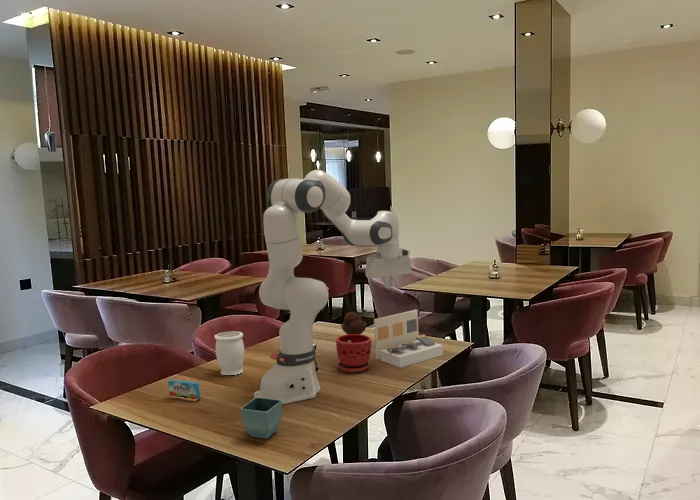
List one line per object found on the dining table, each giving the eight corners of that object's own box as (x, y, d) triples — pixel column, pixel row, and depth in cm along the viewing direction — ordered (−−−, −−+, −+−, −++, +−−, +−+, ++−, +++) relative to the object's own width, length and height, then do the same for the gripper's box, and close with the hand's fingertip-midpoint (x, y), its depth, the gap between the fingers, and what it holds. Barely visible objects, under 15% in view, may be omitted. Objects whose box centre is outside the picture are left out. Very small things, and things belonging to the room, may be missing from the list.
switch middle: (413, 346, 214) (413, 344, 214) (402, 346, 220) (401, 343, 220) (421, 344, 217) (420, 342, 217) (409, 344, 222) (409, 341, 222)
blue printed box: (169, 398, 189) (167, 380, 189) (172, 396, 191) (171, 379, 190) (197, 402, 184) (195, 384, 183) (200, 400, 186) (198, 382, 185)
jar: (212, 376, 209) (209, 337, 207) (226, 367, 218) (223, 330, 217) (237, 378, 205) (234, 338, 204) (250, 369, 215) (247, 331, 213)
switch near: (398, 350, 210) (398, 348, 210) (387, 350, 216) (386, 348, 216) (406, 348, 212) (406, 345, 212) (395, 348, 218) (394, 346, 218)
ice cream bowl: (368, 348, 235) (366, 313, 233) (341, 349, 235) (339, 314, 233) (367, 341, 245) (366, 308, 243) (342, 342, 245) (340, 309, 244)
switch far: (427, 346, 219) (427, 344, 219) (415, 338, 224) (416, 336, 224) (435, 344, 221) (435, 342, 221) (423, 336, 226) (423, 334, 226)
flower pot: (269, 443, 151) (267, 411, 150) (241, 439, 155) (239, 408, 153) (284, 429, 159) (282, 399, 158) (258, 426, 163) (255, 396, 162)
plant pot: (351, 377, 200) (349, 344, 199) (330, 368, 211) (329, 338, 209) (379, 368, 208) (378, 337, 206) (358, 361, 218) (356, 331, 217)
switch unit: (400, 367, 208) (398, 325, 206) (375, 358, 220) (373, 319, 218) (442, 355, 220) (441, 315, 218) (417, 347, 232) (415, 309, 231)
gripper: (371, 254, 208) (372, 291, 209) (413, 250, 219) (413, 285, 221) (361, 253, 213) (362, 289, 214) (402, 250, 225) (403, 283, 226)
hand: (388, 287), depth 217 cm, fingers closed
